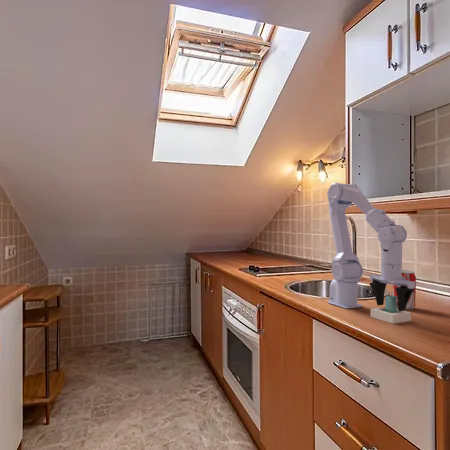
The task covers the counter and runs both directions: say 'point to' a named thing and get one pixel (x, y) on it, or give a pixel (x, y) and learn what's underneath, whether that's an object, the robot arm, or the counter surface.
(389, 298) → the peg
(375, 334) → the counter surface
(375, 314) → the socket block
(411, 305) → the soda can
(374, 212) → the robot arm
